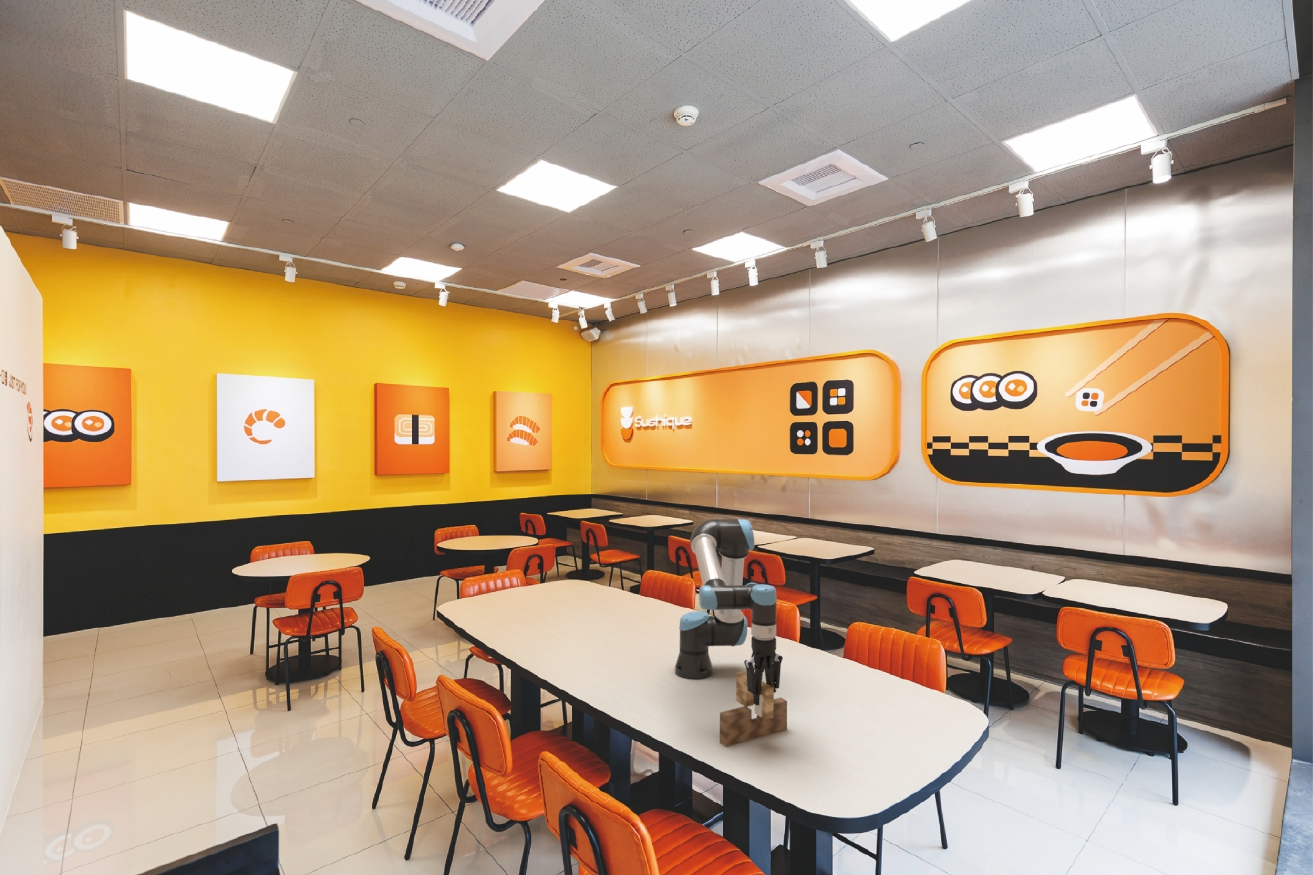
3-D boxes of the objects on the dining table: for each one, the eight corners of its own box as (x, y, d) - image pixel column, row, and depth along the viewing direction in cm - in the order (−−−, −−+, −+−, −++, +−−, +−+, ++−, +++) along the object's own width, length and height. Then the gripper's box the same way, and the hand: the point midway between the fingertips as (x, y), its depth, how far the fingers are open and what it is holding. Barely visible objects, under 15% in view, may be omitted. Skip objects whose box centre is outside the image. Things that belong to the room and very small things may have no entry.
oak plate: (773, 717, 183) (773, 687, 184) (765, 719, 182) (765, 689, 182) (743, 698, 197) (743, 671, 197) (736, 700, 195) (736, 672, 195)
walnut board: (725, 746, 182) (725, 716, 182) (719, 741, 185) (719, 712, 185) (786, 729, 194) (787, 700, 194) (780, 725, 196) (780, 697, 196)
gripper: (750, 644, 179) (749, 724, 178) (792, 636, 186) (791, 713, 186) (735, 637, 185) (734, 714, 185) (776, 629, 193) (776, 703, 192)
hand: (763, 713), depth 185 cm, fingers closed on oak plate, 3 cm apart
